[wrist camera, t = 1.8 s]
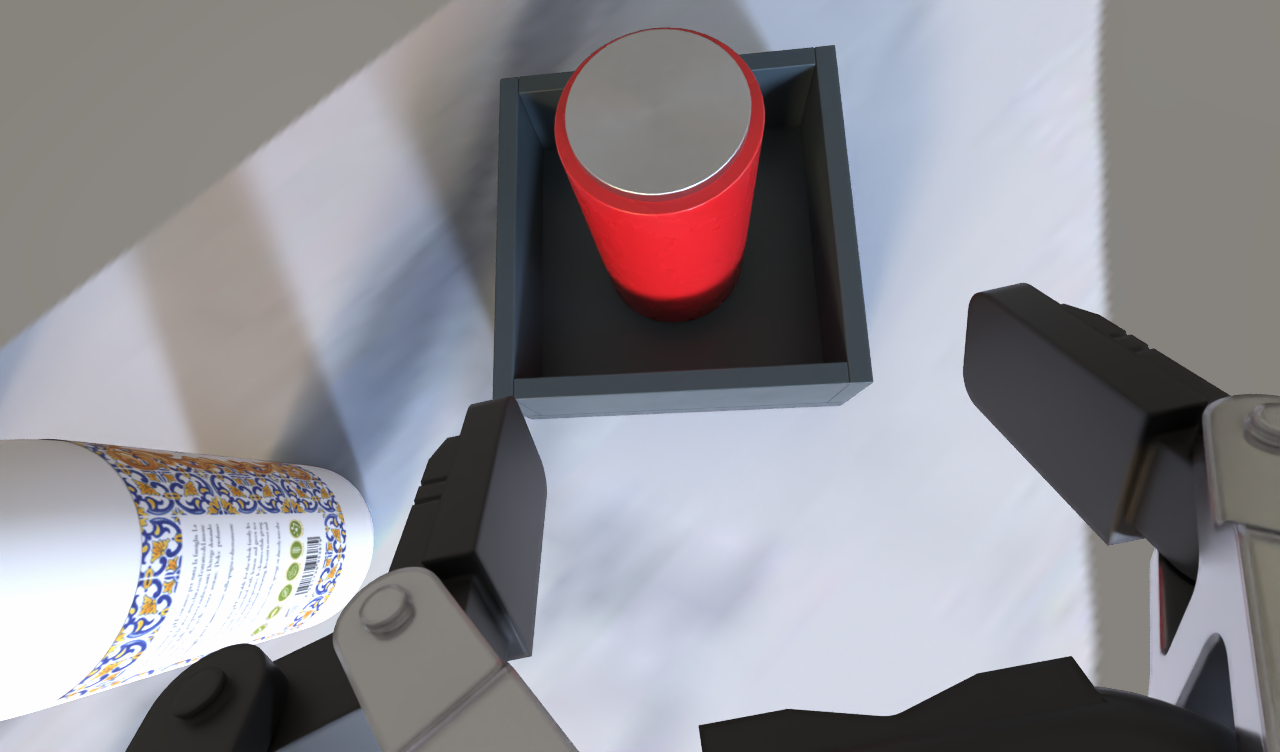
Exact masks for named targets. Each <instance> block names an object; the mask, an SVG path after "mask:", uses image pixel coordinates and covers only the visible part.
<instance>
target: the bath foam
mask: <svg viewBox="0 0 1280 752" xmlns="http://www.w3.org/2000/svg"><path fill="white" fill-rule="evenodd" d="M373 545H374V531H373V523H372V519H371V515H370V512H369V509H368V507H367V505H366V502H365V501H364V499H363V497H362V496H361V494H360V493H359V491H358V490H357V489H356V488H355V487H354V486H353V485H352V484H351V483H350V482H349V481H348V480H346V479H345V478H344V477H342V476H340V475H339V474H337V473H335V472H333V471H330V470H327V469H324V468H320V467H314V466H307V465H297V464H289V463H282V462H272V461H262V460H252V459H242V458H233V457H223V456H213V455H203V454H194V453H184V452H174V451H164V450H155V449H145V448H135V447H125V446H115V445H106V444H96V443H86V442H76V441H67V440H57V439H15V440H0V721H1V720H6V719H9V718H13V717H17V716H20V715H24V714H28V713H31V712H35V711H38V710H41V709H45V708H48V707H51V706H55V705H58V704H61V703H64V702H68V701H71V700H74V699H77V698H81V697H84V696H87V695H91V694H94V693H97V692H100V691H104V690H107V689H110V688H113V687H117V686H120V685H123V684H126V683H130V682H133V681H136V680H139V679H143V678H146V677H149V676H152V675H156V674H159V673H162V672H165V671H169V670H172V669H175V668H178V667H182V666H185V665H188V664H191V663H195V662H197V661H198V660H200V659H201V658H203V657H205V656H207V655H208V654H210V653H212V652H214V651H216V650H219V649H221V648H224V647H227V646H230V645H234V644H240V643H248V644H252V645H253V644H256V643H260V642H263V641H266V640H269V639H273V638H276V637H279V636H282V635H286V634H289V633H292V632H295V631H299V630H302V629H305V628H308V627H311V626H313V625H316V624H318V623H320V622H322V621H324V620H326V619H328V618H329V617H331V616H332V615H334V614H335V613H337V612H338V611H339V610H340V609H341V608H343V607H344V606H345V605H346V604H347V603H348V602H349V600H350V599H351V598H352V597H353V596H354V594H355V593H356V592H357V590H358V589H359V587H360V585H361V584H362V582H363V580H364V578H365V576H366V574H367V571H368V568H369V565H370V562H371V558H372V553H373Z"/></svg>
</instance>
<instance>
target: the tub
mask: <svg viewBox="0 0 1280 752" xmlns="http://www.w3.org/2000/svg"><path fill="white" fill-rule="evenodd" d="M739 56H740V57H741V58H742V59H743V60H744V61H745V63H746V64H747V65H748V67H749V68H750V69H751V71H752V72H753V74H754V76H755V78H756V80H757V82H758V84H759V87H760V90H761V93H762V96H763V101H764V108H765V124H764V131H763V137H762V144H761V150H760V156H759V163H758V169H757V175H756V182H755V188H754V194H753V201H752V207H751V213H750V220H749V226H748V232H747V239H746V245H745V251H744V258H743V264H742V270H741V274H740V277H739V280H738V282H737V284H736V286H735V288H734V289H733V291H732V293H731V294H730V295H729V297H728V298H727V299H726V300H725V301H724V302H723V303H722V304H721V305H720V306H719V307H717V308H716V309H715V310H713V311H712V312H710V313H708V314H706V315H704V316H702V317H700V318H697V319H694V320H690V321H685V322H661V321H657V320H653V319H650V318H647V317H645V316H642V315H641V314H639V313H637V312H635V311H634V310H633V309H631V308H630V307H629V306H628V305H627V304H626V303H625V302H624V301H623V300H622V299H621V298H620V296H619V295H618V294H617V292H616V290H615V288H614V287H613V284H612V282H611V279H610V277H609V275H608V272H607V270H606V267H605V265H604V263H603V260H602V258H601V255H600V253H599V251H598V248H597V246H596V243H595V241H594V239H593V236H592V234H591V231H590V229H589V227H588V224H587V222H586V219H585V217H584V215H583V212H582V210H581V207H580V205H579V203H578V200H577V198H576V195H575V193H574V191H573V188H572V186H571V183H570V181H569V179H568V176H567V174H566V171H565V169H564V167H563V164H562V162H561V159H560V156H559V154H558V150H557V146H556V141H555V130H554V127H555V115H556V111H557V106H558V102H559V100H560V97H561V94H562V92H563V90H564V88H565V86H566V84H567V82H568V80H569V79H570V77H571V76H572V75H573V73H574V72H575V71H573V72H563V73H553V74H543V75H533V76H523V77H519V78H518V77H515V78H505V79H501V80H500V115H499V157H498V199H497V241H496V282H495V324H494V366H493V399H498V398H502V397H507V396H513V397H514V398H515V399H516V401H517V402H518V404H519V407H520V409H521V411H522V414H523V415H524V416H526V417H528V418H530V419H546V418H569V417H592V416H615V415H637V414H660V413H683V412H705V411H728V410H751V409H773V408H796V407H819V406H840V405H842V404H843V403H845V402H846V401H848V400H849V399H851V398H852V397H853V396H855V395H856V394H858V393H859V392H860V391H862V390H863V389H864V388H866V387H867V386H869V385H870V384H871V383H873V376H872V367H871V358H870V349H869V341H868V332H867V323H866V314H865V305H864V296H863V288H862V279H861V270H860V261H859V252H858V244H857V235H856V226H855V217H854V208H853V200H852V191H851V182H850V173H849V164H848V156H847V147H846V138H845V129H844V120H843V111H842V103H841V94H840V85H839V76H838V67H837V59H836V50H835V45H831V46H821V47H815V48H813V47H812V48H802V49H792V50H782V51H772V52H762V53H752V54H742V55H739Z"/></svg>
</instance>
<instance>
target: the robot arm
mask: <svg viewBox="0 0 1280 752" xmlns="http://www.w3.org/2000/svg"><path fill="white" fill-rule="evenodd" d="M963 377H964V383H965V387H966V390H967V393H968V395H969V397H970V399H971V400H972V402H973V404H974V405H975V406H976V407H977V408H978V409H979V410H980V411H981V412H982V413H983V414H984V415H985V417H986V418H987V419H988V420H989V421H990V422H991V423H992V424H993V425H994V426H995V427H996V428H997V429H998V430H999V431H1000V432H1001V433H1002V434H1003V436H1004V437H1005V438H1006V439H1007V440H1008V441H1009V442H1010V443H1011V444H1012V445H1013V446H1014V447H1015V448H1016V449H1017V450H1018V451H1019V452H1020V453H1021V455H1022V456H1023V457H1024V458H1025V459H1026V460H1027V461H1028V462H1029V463H1030V464H1031V465H1032V466H1033V467H1034V468H1035V469H1036V470H1037V471H1038V472H1039V474H1040V475H1041V476H1042V477H1043V478H1044V479H1045V480H1046V481H1047V482H1048V483H1049V484H1050V485H1051V486H1052V487H1053V488H1054V489H1055V490H1056V491H1057V492H1058V494H1059V495H1060V496H1061V497H1062V498H1063V499H1064V500H1065V501H1066V502H1067V503H1068V504H1069V505H1070V506H1071V507H1072V508H1073V509H1074V510H1075V511H1076V513H1077V514H1078V515H1079V516H1080V517H1081V518H1082V519H1083V520H1084V521H1085V522H1086V523H1087V524H1088V525H1089V526H1090V527H1091V528H1092V529H1093V530H1094V532H1096V534H1097V535H1098V536H1099V537H1100V538H1101V539H1102V540H1103V541H1104V542H1105V543H1106V544H1107V545H1113V544H1118V543H1123V542H1128V541H1133V540H1138V539H1144V538H1146V539H1147V540H1148V541H1149V542H1150V543H1151V544H1152V545H1153V546H1154V547H1155V550H1154V552H1153V556H1152V558H1151V562H1150V660H1151V661H1150V662H1151V664H1150V665H1151V668H1150V669H1151V670H1150V683H1149V690H1148V695H1147V696H1144V695H1140V694H1137V693H1133V692H1128V691H1122V690H1117V689H1111V688H1105V687H1094V686H1093V684H1092V683H1091V682H1090V680H1089V679H1088V678H1087V676H1086V675H1085V673H1084V672H1083V671H1082V669H1081V668H1080V667H1079V665H1078V664H1077V663H1076V661H1075V660H1074V658H1073V657H1072V656H1069V657H1064V658H1058V659H1053V660H1048V661H1042V662H1037V663H1032V664H1026V665H1021V666H1015V667H1010V668H1005V669H999V670H994V671H989V672H983V673H978V674H976V675H974V676H972V677H970V678H968V679H966V680H964V681H962V682H960V683H958V684H956V685H954V686H952V687H950V688H948V689H946V690H944V691H943V692H941V693H939V694H937V695H935V696H933V697H931V698H929V699H927V700H925V701H923V702H921V703H919V704H917V705H915V706H913V707H911V708H909V709H907V710H905V711H903V712H901V713H899V714H896V715H892V716H872V715H859V714H846V713H834V712H821V711H808V710H795V709H785V710H779V711H774V712H769V713H763V714H758V715H753V716H747V717H742V718H736V719H731V720H726V721H720V722H715V723H710V724H704V725H699V732H700V739H701V746H702V752H1280V396H1275V395H1265V394H1243V395H1234V396H1230V395H1228V394H1227V393H1225V392H1224V391H1222V390H1220V389H1219V388H1217V387H1216V386H1214V385H1212V384H1211V383H1209V382H1207V381H1206V380H1204V379H1203V378H1201V377H1199V376H1197V375H1196V374H1194V373H1193V372H1191V371H1189V370H1188V369H1186V368H1185V367H1183V366H1181V365H1180V364H1178V363H1177V362H1175V361H1173V360H1172V359H1170V358H1169V357H1167V356H1165V355H1164V354H1162V353H1160V352H1159V351H1157V350H1156V349H1149V348H1148V345H1147V344H1146V343H1144V342H1143V341H1141V340H1139V339H1137V338H1136V337H1135V336H1133V335H1127V334H1126V331H1125V330H1123V329H1122V328H1120V327H1118V326H1117V325H1115V324H1113V323H1112V322H1110V321H1109V320H1107V319H1105V318H1104V317H1102V316H1100V315H1098V314H1095V313H1092V312H1089V311H1086V310H1082V309H1079V308H1076V307H1073V306H1070V305H1066V304H1059V303H1058V302H1056V301H1055V300H1053V299H1051V298H1050V297H1048V296H1047V295H1045V294H1044V293H1042V292H1041V291H1039V290H1037V289H1036V288H1034V287H1033V286H1031V285H1029V284H1027V283H1019V284H1015V285H1010V286H1006V287H1001V288H997V289H992V290H988V291H983V292H979V293H976V294H975V295H973V297H972V298H971V300H970V303H969V308H968V318H967V330H966V342H965V354H964V366H963ZM546 497H547V486H546V478H545V472H544V468H543V465H542V461H541V459H540V456H539V454H538V451H537V449H536V446H535V444H534V441H533V439H532V436H531V434H530V431H529V429H528V426H527V424H526V421H525V419H524V416H523V414H522V411H521V409H520V407H519V404H518V402H517V401H516V399H515V398H514V397H513V396H507V397H502V398H498V399H493V400H489V401H484V402H480V403H475V404H471V405H470V406H469V408H468V410H467V414H466V417H465V420H464V423H463V427H462V430H461V433H460V435H459V436H455V437H450V438H447V439H446V440H445V441H444V442H443V443H442V445H441V446H440V447H439V448H438V449H437V451H436V452H435V453H434V454H433V455H432V457H431V458H430V459H429V460H428V463H427V466H426V469H425V472H424V474H423V477H422V480H421V486H419V488H418V491H417V494H416V497H415V500H414V502H415V505H412V508H411V511H410V513H409V516H408V519H407V522H406V525H405V527H404V530H403V533H402V536H401V539H400V541H399V544H398V547H397V550H396V553H395V555H394V558H393V561H392V564H391V567H390V569H389V572H388V573H386V574H384V575H382V576H380V577H378V578H377V579H375V580H374V581H372V582H370V583H369V584H368V585H366V586H365V587H364V588H363V589H361V590H360V591H359V592H358V593H357V594H356V595H355V596H354V597H353V598H352V599H351V600H350V602H349V603H348V604H347V605H346V607H345V608H344V609H343V611H342V612H341V614H340V616H339V618H338V620H337V622H336V625H335V628H334V632H333V633H331V634H329V635H328V636H326V637H323V638H321V639H319V640H317V641H315V642H313V643H311V644H309V645H307V646H305V647H303V648H300V649H298V650H296V651H294V652H292V653H290V654H288V655H286V656H284V657H282V658H280V659H277V660H275V661H273V662H272V661H271V660H270V659H269V657H268V656H267V655H266V654H265V653H264V652H263V651H262V650H261V649H260V648H259V647H257V646H255V645H252V644H248V643H240V644H234V645H230V646H227V647H224V648H221V649H219V650H216V651H214V652H212V653H210V654H208V655H207V656H205V657H203V658H201V659H200V660H198V661H197V662H195V663H194V664H192V665H191V666H190V667H188V668H187V669H186V670H185V671H183V672H182V673H181V674H180V675H179V676H178V677H177V678H175V679H174V680H173V681H172V682H171V683H170V684H169V685H168V687H167V688H166V689H165V690H164V691H163V692H162V693H161V694H160V696H159V697H158V698H157V700H156V701H155V702H154V704H153V705H152V707H151V708H150V710H149V711H148V713H147V715H146V717H145V718H144V720H143V722H142V724H141V725H140V727H139V729H138V731H137V732H136V734H135V736H134V738H133V739H132V741H131V743H130V744H129V746H128V748H127V750H126V751H125V752H579V751H578V750H577V749H576V747H575V746H574V745H573V744H572V742H571V741H570V740H569V738H568V737H567V736H566V735H565V733H564V732H563V731H562V729H561V728H560V727H559V726H558V724H557V723H556V722H555V720H554V719H553V718H552V717H551V715H550V714H549V713H548V711H547V710H546V709H545V708H544V706H543V705H542V704H541V702H540V701H539V700H538V699H537V697H536V696H535V695H534V693H533V692H532V691H531V690H530V688H529V687H528V686H527V684H526V683H525V682H524V681H523V679H522V678H521V677H520V676H519V674H518V673H517V672H516V671H515V669H514V668H513V667H512V666H511V665H510V664H509V663H508V662H507V661H510V660H515V659H520V658H525V657H530V656H532V647H533V637H534V626H535V615H536V604H537V594H538V583H539V572H540V562H541V551H542V540H543V529H544V519H545V508H546Z"/></svg>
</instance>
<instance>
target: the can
mask: <svg viewBox="0 0 1280 752" xmlns="http://www.w3.org/2000/svg"><path fill="white" fill-rule="evenodd" d="M764 124H765V108H764V101H763V96H762V93H761V90H760V87H759V84H758V82H757V80H756V78H755V76H754V74H753V72H752V71H751V69H750V68H749V67H748V65H747V64H746V63H745V61H744V60H743V59H742V58H741V57H740V56H739V55H738V54H737V53H736V52H734V51H733V50H732V49H731V48H730V47H728V46H727V45H725V44H723V43H722V42H720V41H719V40H717V39H715V38H712V37H710V36H708V35H706V34H702V33H699V32H696V31H692V30H687V29H681V28H652V29H646V30H640V31H637V32H633V33H630V34H627V35H624V36H622V37H619V38H617V39H615V40H613V41H611V42H609V43H607V44H605V45H604V46H602V47H601V48H599V49H598V50H596V51H595V52H594V53H592V54H591V55H590V56H589V57H588V58H587V59H586V60H584V61H583V63H582V64H581V65H580V66H579V67H578V68H577V69H576V70H575V72H574V73H573V75H572V76H571V77H570V79H569V80H568V82H567V84H566V86H565V88H564V90H563V92H562V94H561V97H560V100H559V102H558V106H557V111H556V115H555V127H554V130H555V141H556V146H557V150H558V154H559V156H560V159H561V162H562V164H563V167H564V169H565V171H566V174H567V176H568V179H569V181H570V183H571V186H572V188H573V191H574V193H575V195H576V198H577V200H578V203H579V205H580V207H581V210H582V212H583V215H584V217H585V219H586V222H587V224H588V227H589V229H590V231H591V234H592V236H593V239H594V241H595V243H596V246H597V248H598V251H599V253H600V255H601V258H602V260H603V263H604V265H605V267H606V270H607V272H608V275H609V277H610V279H611V282H612V284H613V287H614V288H615V290H616V292H617V294H618V295H619V296H620V298H621V299H622V300H623V301H624V302H625V303H626V304H627V305H628V306H629V307H630V308H631V309H633V310H634V311H635V312H637V313H639V314H641V315H642V316H645V317H647V318H650V319H653V320H657V321H661V322H685V321H690V320H694V319H697V318H700V317H702V316H704V315H706V314H708V313H710V312H712V311H713V310H715V309H716V308H717V307H719V306H720V305H721V304H722V303H723V302H724V301H725V300H726V299H727V298H728V297H729V295H730V294H731V293H732V291H733V289H734V288H735V286H736V284H737V282H738V280H739V277H740V274H741V270H742V264H743V258H744V251H745V245H746V239H747V232H748V226H749V220H750V213H751V207H752V201H753V194H754V188H755V182H756V175H757V169H758V163H759V156H760V150H761V144H762V137H763V131H764Z"/></svg>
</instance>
